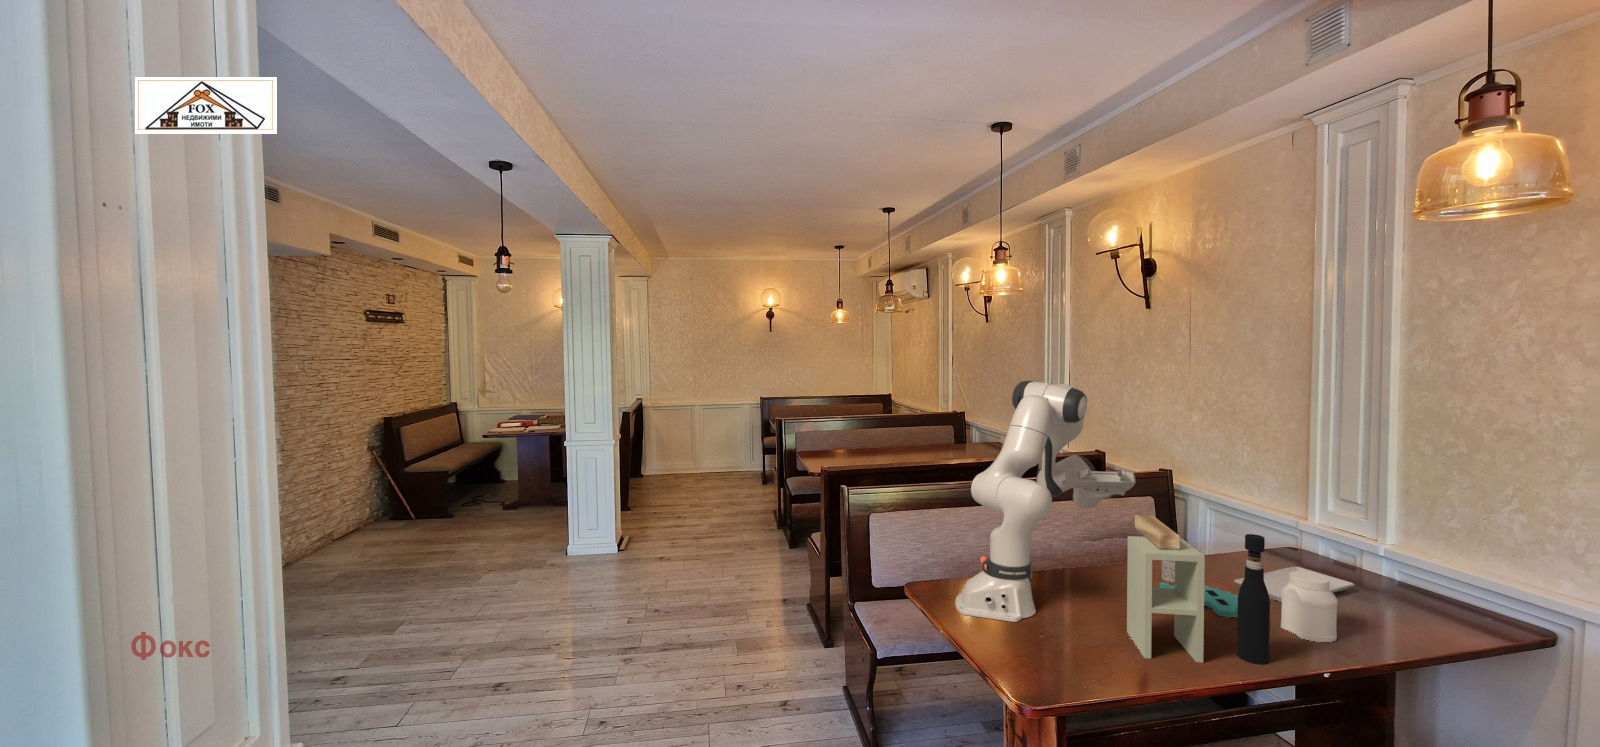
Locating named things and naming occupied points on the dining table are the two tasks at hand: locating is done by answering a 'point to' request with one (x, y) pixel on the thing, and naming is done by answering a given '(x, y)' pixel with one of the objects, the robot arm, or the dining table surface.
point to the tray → (1281, 578)
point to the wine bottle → (1253, 607)
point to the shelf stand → (1166, 595)
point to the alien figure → (1217, 600)
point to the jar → (1309, 607)
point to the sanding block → (1157, 532)
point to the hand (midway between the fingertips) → (1104, 471)
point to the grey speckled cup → (1168, 571)
